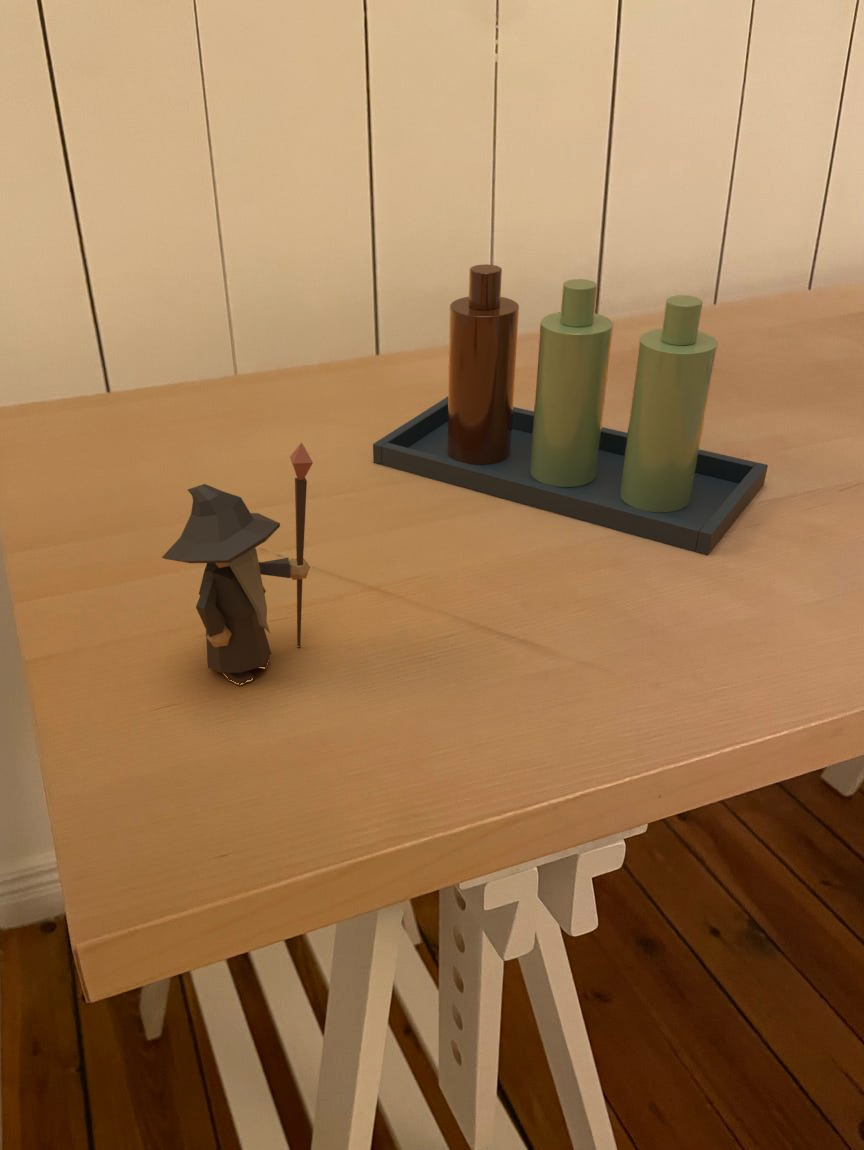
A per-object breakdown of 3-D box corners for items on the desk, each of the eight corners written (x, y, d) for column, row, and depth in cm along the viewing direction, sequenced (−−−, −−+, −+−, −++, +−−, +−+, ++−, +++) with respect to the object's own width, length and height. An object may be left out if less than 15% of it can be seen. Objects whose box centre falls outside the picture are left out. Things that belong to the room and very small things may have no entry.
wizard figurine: (248, 714, 53) (222, 509, 46) (166, 681, 55) (130, 482, 48) (335, 634, 58) (324, 441, 51) (258, 608, 61) (237, 420, 54)
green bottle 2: (700, 491, 71) (735, 296, 63) (675, 519, 67) (709, 317, 60) (635, 475, 73) (661, 284, 65) (608, 501, 70) (632, 304, 62)
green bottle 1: (607, 468, 74) (629, 279, 66) (579, 493, 71) (599, 298, 63) (548, 453, 76) (562, 269, 68) (518, 477, 73) (530, 287, 65)
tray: (762, 491, 72) (768, 464, 70) (706, 563, 64) (711, 534, 63) (452, 416, 84) (452, 392, 82) (373, 469, 76) (372, 443, 75)
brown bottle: (521, 446, 77) (533, 265, 69) (491, 470, 74) (499, 282, 66) (467, 433, 79) (472, 255, 71) (435, 455, 76) (437, 272, 68)
